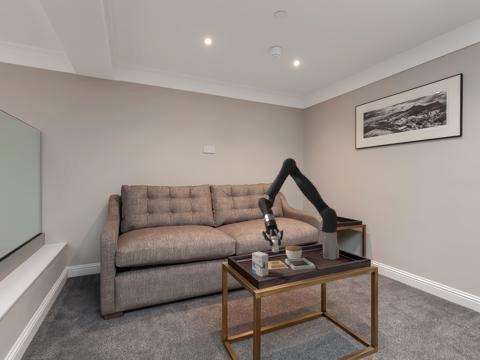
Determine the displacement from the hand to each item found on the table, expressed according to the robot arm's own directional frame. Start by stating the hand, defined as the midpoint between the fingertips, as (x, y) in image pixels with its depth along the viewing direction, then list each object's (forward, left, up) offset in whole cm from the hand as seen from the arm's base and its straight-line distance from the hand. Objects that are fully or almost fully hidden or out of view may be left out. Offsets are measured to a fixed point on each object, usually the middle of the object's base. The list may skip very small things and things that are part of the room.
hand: (276, 245), depth 148 cm
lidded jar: (-16, -15, -13) cm, 26 cm away
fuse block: (0, -2, -13) cm, 13 cm away
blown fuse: (0, -2, -4) cm, 4 cm away
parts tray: (-14, 0, -13) cm, 19 cm away
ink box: (+12, +10, -13) cm, 21 cm away
